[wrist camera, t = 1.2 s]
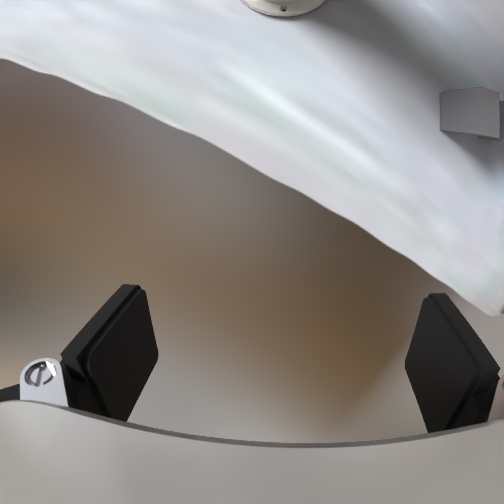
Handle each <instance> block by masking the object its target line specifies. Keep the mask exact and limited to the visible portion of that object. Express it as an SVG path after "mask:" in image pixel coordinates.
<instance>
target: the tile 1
mask: <svg viewBox="0 0 504 504" xmlns="http://www.w3.org/2000/svg"><path fill="white" fill-rule="evenodd" d="M440 130H443V131H449V132H454V133H462V134H470V135H478V136H485V137H492V138H499V133H500V107H499V93H498V92H495V91H492V90H489V89H485V88H482V87H478V88H470V89H462V90H455V91H448V92H442V93H440Z"/></svg>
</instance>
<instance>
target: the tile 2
mask: <svg viewBox="0 0 504 504" xmlns="http://www.w3.org/2000/svg"><path fill="white" fill-rule="evenodd" d="M499 107H500V133H499V138H492V137H485V136H478V137H480V138H484V139H489V140H494V141H499V142H504V101H499Z"/></svg>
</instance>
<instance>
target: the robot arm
mask: <svg viewBox="0 0 504 504" xmlns="http://www.w3.org/2000/svg"><path fill="white" fill-rule="evenodd" d="M324 1H325V0H241V2H242V3H244V4H245V5H247V6H248V7H249V8H251V9H253V10H255V11H257V12H260V13H263V14H266V15H272V16H285V17H287V16H297V15H300V14H304V13H307V12H310V11H312V10H314V9H316V8H317V7H319V6H320V5H321V4H322V3H323V2H324ZM282 10H286V11H285V12H283V11H282ZM61 356H62V360H61V362H60V363H59V362H57V361H56V360H54V359H52V358H42V359H38V360H35V361H33V362H32V363H30V364H28V365H27V366H26V367H25V368H24V369H23V371H22V373H21V375H20V384H17V385H14V386H11V387H7V388H4V389H1V390H0V504H504V375H503V376H502V377H501V378H500V377H499V376H498V372H499V370H500V367H499V366H498V364H497V363H496V361H495V360H494V358H493V357H492V355H491V354H490V353H489V351H488V349H487V348H486V347H485V345H484V344H483V342H482V341H481V339H480V338H479V337H478V335H477V334H476V332H475V331H474V330H473V329H472V327H471V326H470V324H469V323H468V322H467V320H466V319H465V318H464V316H463V315H462V314H461V313H460V311H459V310H458V308H457V307H456V306H455V305H454V303H453V302H452V301H451V300H450V298H449V297H448V296H447V295H446V294H445V293H432V294H429V295H428V297H427V298H425V299H424V300H423V302H422V306H421V310H420V313H419V317H418V321H417V324H416V328H415V331H414V334H413V338H412V341H411V344H410V347H409V350H408V353H407V356H406V359H405V370H406V372H407V375H408V378H409V380H410V383H411V386H412V388H413V391H414V394H415V396H416V399H417V402H418V405H419V408H420V410H421V413H422V416H423V419H424V422H425V425H426V428H427V431H428V433H427V434H420V435H414V436H406V437H399V438H390V439H381V440H369V441H356V442H335V443H279V442H278V443H277V442H259V441H244V440H233V439H223V438H215V437H207V436H199V435H191V434H186V433H179V432H173V431H167V430H162V429H157V428H152V427H147V426H143V425H138V424H134V423H129V422H127V420H128V418H129V416H130V414H131V412H132V410H133V408H134V406H135V404H136V402H137V400H138V398H139V396H140V394H141V392H142V390H143V388H144V386H145V384H146V382H147V380H148V378H149V376H150V374H151V372H152V370H153V368H154V366H155V364H156V363H157V360H158V348H157V345H156V340H155V336H154V331H153V326H152V321H151V316H150V312H149V306H148V301H147V296H146V292H145V290H142V289H141V287H140V286H139V285H128V284H124V285H122V286H121V287H120V288H119V289H118V290H117V291H116V292H115V293H114V294H113V295H112V296H111V297H110V299H109V300H108V301H107V302H106V303H105V304H104V305H103V306H102V307H101V309H99V311H98V312H97V313H96V314H95V315H94V316H93V317H92V318H91V320H90V321H89V322H88V323H87V324H86V325H85V326H84V327H83V328H82V330H81V331H80V332H79V333H78V334H77V335H76V336H75V338H74V339H73V340H72V341H71V342H70V343H69V345H68V346H67V347H66V348H65V349H64V350H63V352H62V353H61Z"/></svg>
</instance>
